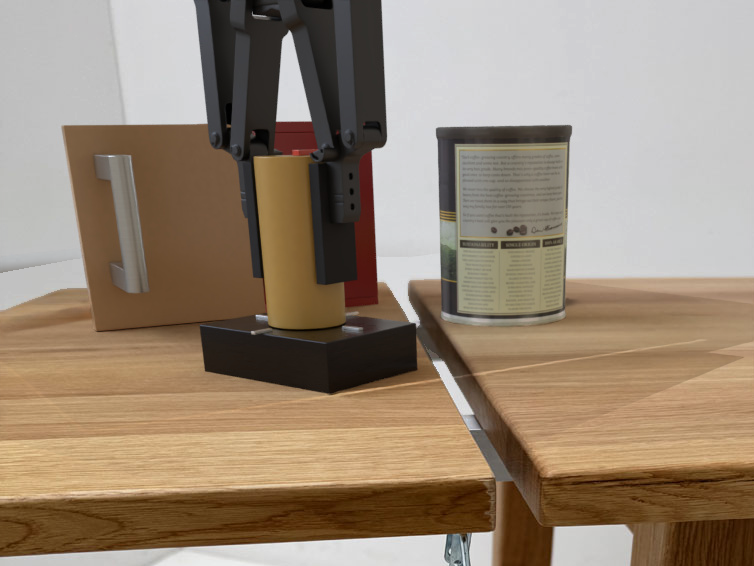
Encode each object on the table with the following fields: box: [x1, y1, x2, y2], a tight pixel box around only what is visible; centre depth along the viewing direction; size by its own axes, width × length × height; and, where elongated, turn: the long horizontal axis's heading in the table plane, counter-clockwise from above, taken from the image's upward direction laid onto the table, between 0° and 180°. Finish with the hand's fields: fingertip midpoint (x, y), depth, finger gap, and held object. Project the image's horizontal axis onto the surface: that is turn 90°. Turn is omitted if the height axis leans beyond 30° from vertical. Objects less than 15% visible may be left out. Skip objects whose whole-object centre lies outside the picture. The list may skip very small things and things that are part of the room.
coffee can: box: [435, 124, 573, 328], centre depth 80 cm, size 10×10×14 cm
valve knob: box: [253, 149, 347, 329], centre depth 61 cm, size 5×5×10 cm
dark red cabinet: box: [252, 120, 379, 313], centre depth 89 cm, size 10×14×15 cm
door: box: [60, 123, 266, 332], centre depth 76 cm, size 7×14×14 cm, turn 118°
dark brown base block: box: [199, 310, 418, 396], centre depth 64 cm, size 11×9×3 cm
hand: (304, 277), depth 62 cm, fingers closed on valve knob, 5 cm apart
